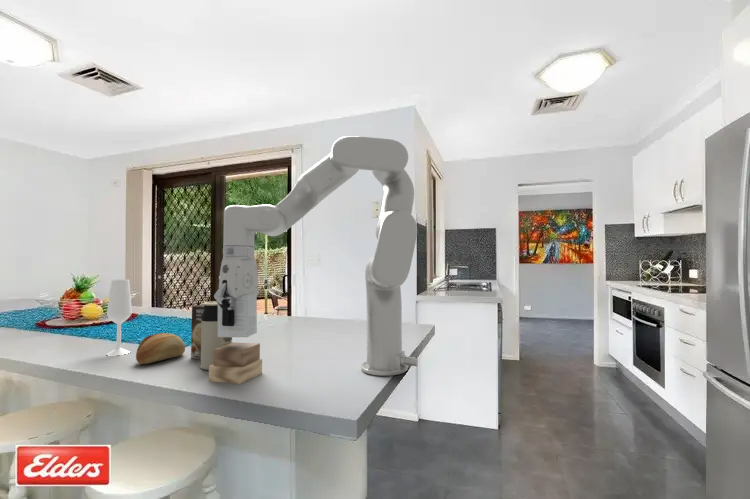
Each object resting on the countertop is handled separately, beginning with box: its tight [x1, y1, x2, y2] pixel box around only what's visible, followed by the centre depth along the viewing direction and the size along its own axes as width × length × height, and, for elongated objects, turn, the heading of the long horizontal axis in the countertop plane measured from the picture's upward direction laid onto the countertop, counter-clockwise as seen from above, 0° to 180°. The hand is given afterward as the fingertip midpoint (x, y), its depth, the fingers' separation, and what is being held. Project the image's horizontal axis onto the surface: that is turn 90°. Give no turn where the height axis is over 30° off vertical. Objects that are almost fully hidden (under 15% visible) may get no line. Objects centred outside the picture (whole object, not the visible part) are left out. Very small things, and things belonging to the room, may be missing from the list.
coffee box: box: [190, 304, 205, 360], centre depth 111 cm, size 9×6×16 cm
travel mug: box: [200, 300, 233, 371], centre depth 100 cm, size 8×8×18 cm
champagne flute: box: [106, 279, 133, 357], centre depth 116 cm, size 7×7×24 cm
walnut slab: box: [214, 341, 261, 367], centre depth 91 cm, size 8×8×4 cm
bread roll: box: [135, 332, 186, 365], centre depth 107 cm, size 10×15×8 cm, turn 164°
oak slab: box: [208, 358, 263, 385], centre depth 90 cm, size 9×9×4 cm
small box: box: [218, 294, 258, 338], centre depth 91 cm, size 8×6×10 cm
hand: (237, 323), depth 91 cm, fingers closed on small box, 6 cm apart
